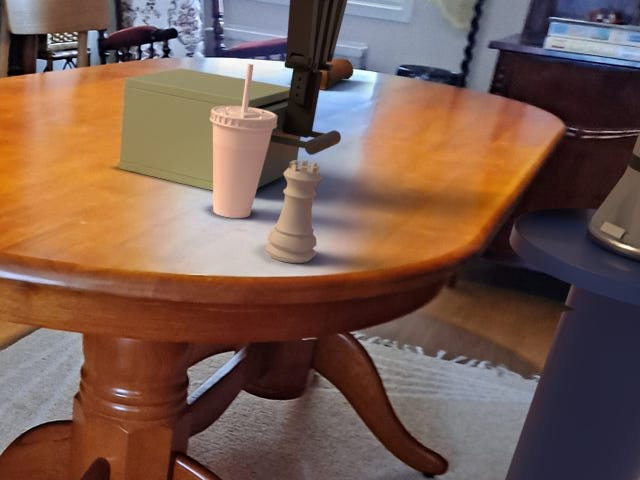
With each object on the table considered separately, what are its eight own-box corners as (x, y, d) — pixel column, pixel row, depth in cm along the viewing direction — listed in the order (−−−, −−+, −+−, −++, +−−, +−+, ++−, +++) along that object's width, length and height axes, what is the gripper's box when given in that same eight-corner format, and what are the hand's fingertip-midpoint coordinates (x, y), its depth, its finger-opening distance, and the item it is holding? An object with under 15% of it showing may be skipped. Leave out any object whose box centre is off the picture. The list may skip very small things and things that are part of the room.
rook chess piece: (297, 245, 76) (312, 156, 72) (325, 262, 72) (342, 170, 69) (254, 248, 74) (268, 157, 70) (281, 266, 71) (296, 172, 67)
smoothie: (196, 217, 81) (213, 64, 74) (202, 199, 86) (218, 55, 80) (262, 225, 80) (285, 72, 74) (264, 207, 86) (285, 63, 79)
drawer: (339, 179, 95) (353, 108, 91) (302, 200, 86) (315, 121, 82) (192, 148, 103) (199, 80, 99) (144, 164, 94) (149, 90, 90)
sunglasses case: (312, 72, 177) (333, 45, 173) (337, 94, 176) (359, 68, 172) (288, 81, 162) (310, 52, 158) (315, 105, 162) (338, 77, 158)
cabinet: (282, 174, 99) (296, 88, 94) (236, 196, 89) (249, 100, 84) (173, 150, 105) (181, 68, 100) (119, 168, 95) (124, 77, 90)
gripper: (326, -118, 85) (287, 120, 96) (276, -132, 75) (239, 136, 86) (398, -113, 82) (350, 132, 93) (357, -127, 72) (307, 151, 83)
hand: (297, 134), depth 89 cm, fingers closed
